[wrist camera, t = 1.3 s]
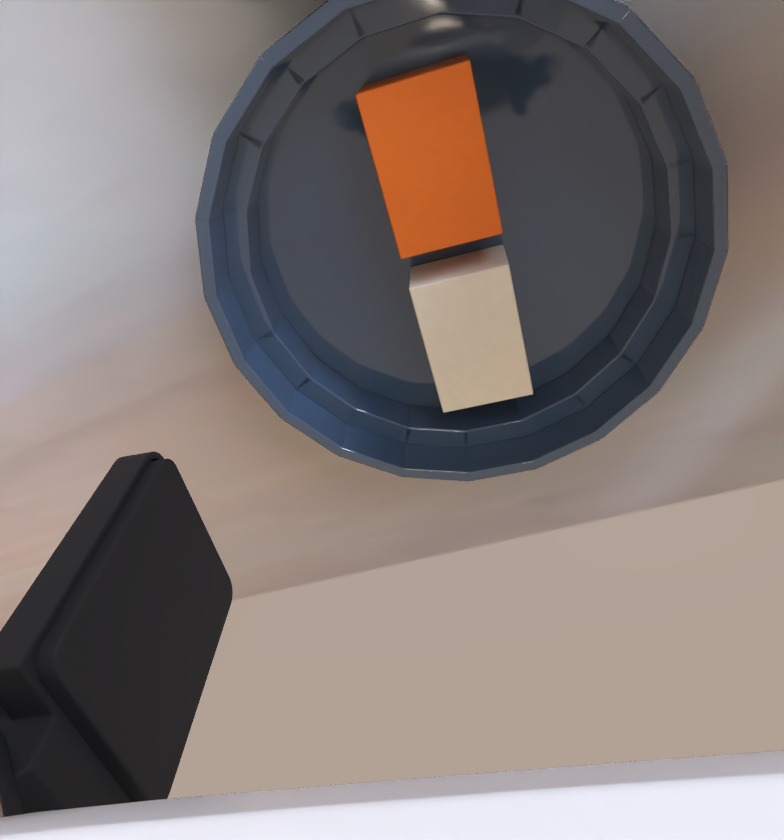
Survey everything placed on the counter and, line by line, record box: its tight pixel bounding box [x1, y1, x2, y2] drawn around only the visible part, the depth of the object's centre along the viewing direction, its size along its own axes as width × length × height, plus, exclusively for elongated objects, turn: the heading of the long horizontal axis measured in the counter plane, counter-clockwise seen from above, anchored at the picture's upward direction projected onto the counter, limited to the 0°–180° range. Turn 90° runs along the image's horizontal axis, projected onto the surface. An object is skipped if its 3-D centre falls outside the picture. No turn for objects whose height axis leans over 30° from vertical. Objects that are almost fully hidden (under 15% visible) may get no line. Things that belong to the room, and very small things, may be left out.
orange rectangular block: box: [355, 54, 503, 259], centre depth 25 cm, size 4×6×2 cm, turn 15°
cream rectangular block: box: [409, 245, 533, 413], centre depth 29 cm, size 4×6×2 cm, turn 16°
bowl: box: [195, 0, 728, 481], centre depth 26 cm, size 19×19×4 cm
